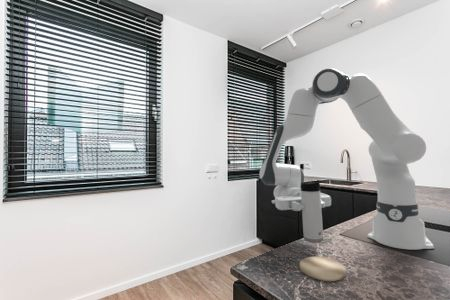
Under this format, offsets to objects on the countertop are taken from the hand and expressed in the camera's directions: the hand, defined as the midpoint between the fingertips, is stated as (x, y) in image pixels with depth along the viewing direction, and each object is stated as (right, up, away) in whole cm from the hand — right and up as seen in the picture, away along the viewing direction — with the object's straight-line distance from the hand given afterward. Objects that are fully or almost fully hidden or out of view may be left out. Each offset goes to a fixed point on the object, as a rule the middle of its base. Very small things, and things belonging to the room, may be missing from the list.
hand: (312, 206), depth 78 cm
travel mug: (+1, -12, +1) cm, 12 cm away
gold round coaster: (-2, -15, -13) cm, 20 cm away
